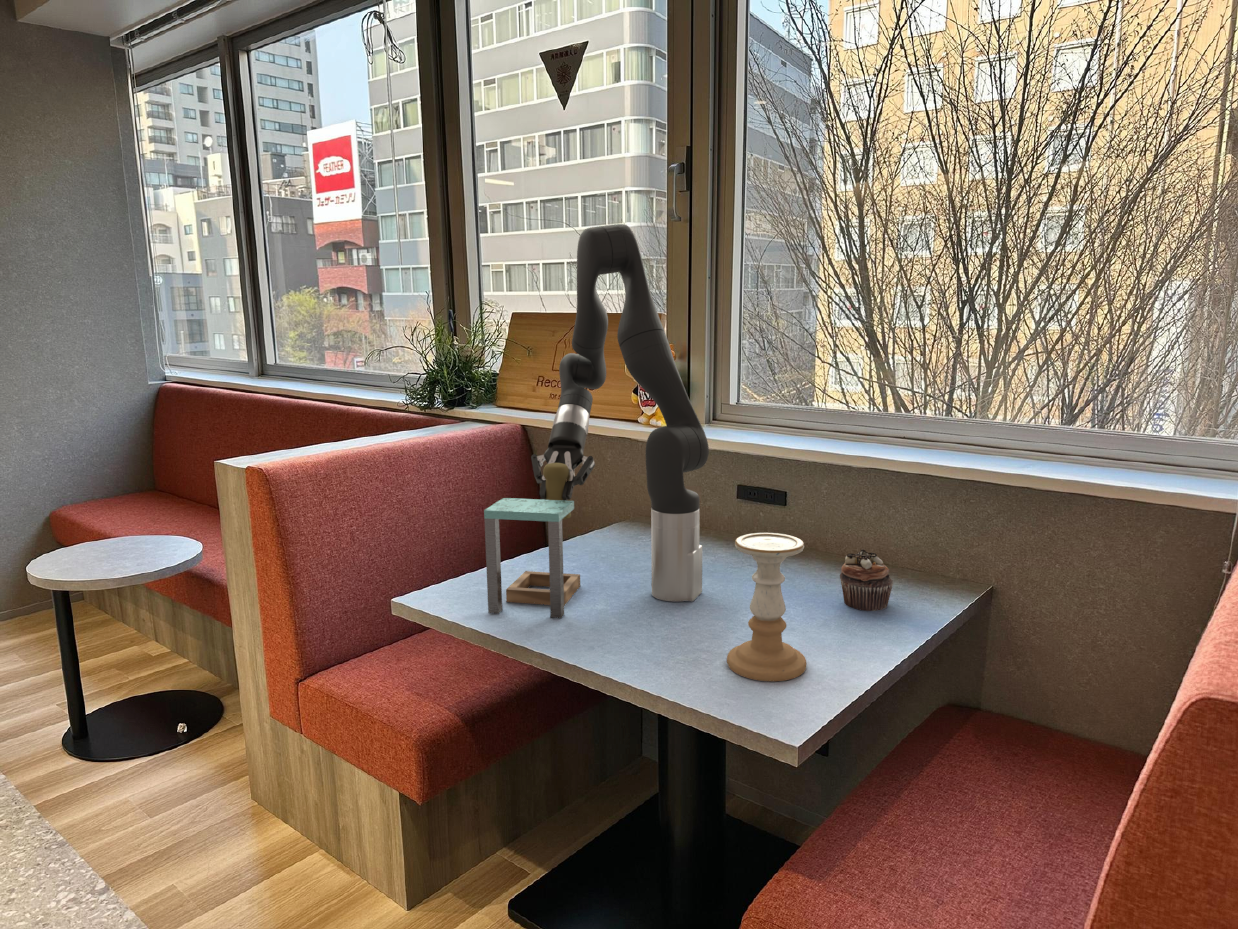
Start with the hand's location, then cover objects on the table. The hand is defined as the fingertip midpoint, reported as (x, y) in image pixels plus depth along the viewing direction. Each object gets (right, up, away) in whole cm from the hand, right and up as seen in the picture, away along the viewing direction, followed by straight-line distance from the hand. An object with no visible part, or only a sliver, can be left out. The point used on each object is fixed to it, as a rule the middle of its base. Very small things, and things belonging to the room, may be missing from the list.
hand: (554, 499), depth 171 cm
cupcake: (+59, -19, -11) cm, 64 cm away
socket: (-2, -18, -4) cm, 19 cm away
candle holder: (+36, -25, -38) cm, 58 cm away
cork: (0, -4, +3) cm, 5 cm away
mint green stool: (-3, -20, -11) cm, 23 cm away
